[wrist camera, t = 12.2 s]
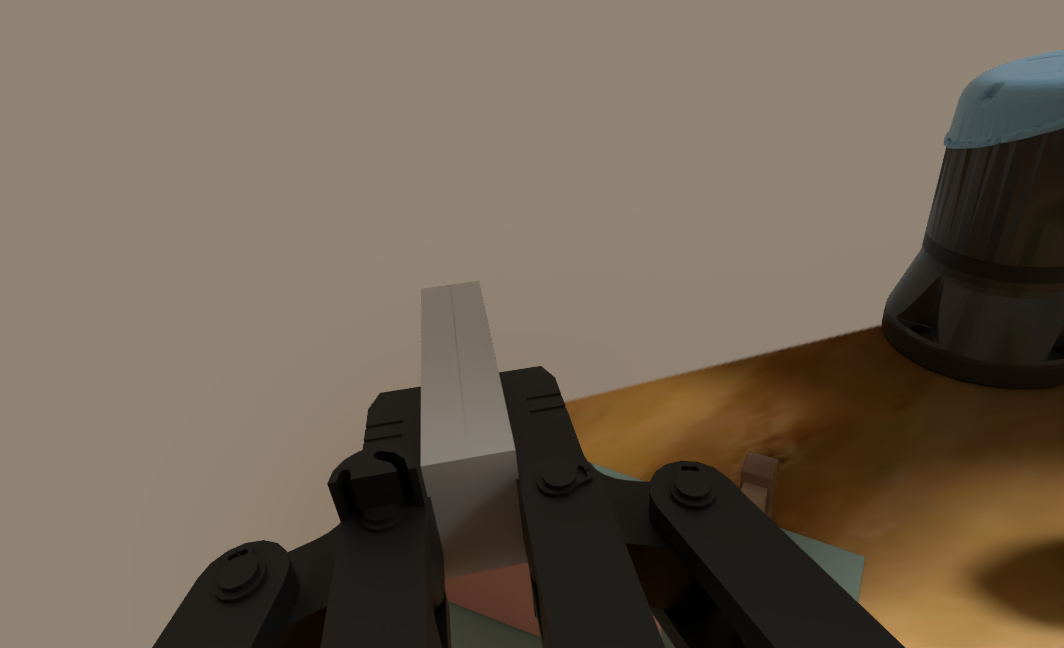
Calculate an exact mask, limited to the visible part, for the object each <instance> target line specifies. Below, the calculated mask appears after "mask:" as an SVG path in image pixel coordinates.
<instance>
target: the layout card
mask: <svg viewBox="0 0 1064 648" xmlns="http://www.w3.org/2000/svg"><path fill="white" fill-rule="evenodd" d="M591 464H592V465H593V466H594V468H595V469H596V470H598V471H599V472H601V473H603V474H605V475H608V476H610V477H613V478H617V479H623V480H631V481H642V480H639V479H637V478H634V477H631V476H628V475H625V474H622V473H619V472H616V471H613V470H610V469H607V468H605V467H602V466H599V465H596V464H593V463H591ZM644 482H645V481H644ZM781 529H782V528H781ZM782 530H783V531H784V532H785V533H786V534H787V535H788V536H789V537H790V538H791V539H792V540H793V541H794V542H795V543H796V544H797V545H798V546H799V547H800V548H801V549H802V550H804V551H805V552H806V553H807V554H808V555H809V556H810V557H811V558H812V559H813V560H814V561H815V562H816V563H817V564H818V565H819V566H820V567H821V568H822V569H823V570H824V571H826V572H827V573H828V574H829V575H830V576H831V577H832V578H833V579H834V580H835V581H836V582H837V583H838V584H839V585H840V586H841V587H842V588H843V589H844V590H845V591H846V592H847V593H849V594H850V595H851V596H852V597H853V598H854V599H855V600H856V601H857V602H858V598H859V591H860V585H861V578H862V572H863V565H864V559H865V557H864V556H861V555H858V554H855V553H852V552H849V551H846V550H843V549H840V548H837V547H835V546H832V545H829V544H826V543H823V542H820V541H817V540H814V539H811V538H808V537H805V536H803V535H800V534H797V533H794V532H791V531H788V530H785V529H782ZM448 604H449V610H450V630H451V648H543V647H542V642H541V637H538V636H536V635H533V634H531V633H528V632H526V631H523V630H520V629H518V628H515V627H513V626H510V625H508V624H505V623H503V622H500V621H497V620H495V619H492V618H490V617H487V616H485V615H482V614H480V613H477V612H474V611H472V610H469V609H467V608H464V607H462V606H459V605H457V604H454V603H451V602H449V601H448ZM661 636H662V641H663V643H664V646H665V648H675V647H674V645H673V644H672V642H671V641H670V639H669V638H668V636H667V635H666V633H665V632H664V630H663V629H662V627H661Z"/></svg>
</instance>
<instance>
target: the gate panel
mask: <svg viewBox="0 0 1064 648" xmlns="http://www.w3.org/2000/svg"><path fill="white" fill-rule="evenodd" d="M444 575H445V591H446V595H447V600H448V601H449V602H451V603H454V604H457V605H459V606H462V607H464V608H467V609H469V610H472V611H474V612H477V613H480V614H482V615H485V616H487V617H490V618H492V619H495V620H497V621H500V622H503V623H505V624H508V625H510V626H513V627H515V628H518V629H520V630H523V631H526V632H528V633H531V634H533V635H536V636H538V637H540V632H539V626H538V621H537V617H535V614H534V605H533V597H532V588H531V579H530V571H529V566H528V562H527V563H522V564H517V565H512V566H507V567H502V568H497V569H492V570H487V571H482V572H477V573H472V574H467V575H462V576H457V577H452V578H446V574H445V569H444ZM653 617H654V615H653ZM654 620H655V622H656V625H657V627H658V630H659V633H660V635H661V626H660V624H659V623H658V621H657V620H656V618H655V617H654ZM661 638H662V636H661Z"/></svg>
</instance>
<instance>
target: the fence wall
mask: <svg viewBox="0 0 1064 648" xmlns="http://www.w3.org/2000/svg"><path fill="white" fill-rule="evenodd" d="M778 460H779V459H775V458H772V457H768V456H765V455H761V454H757V453H754V452H750V451H749V452H748V455H747V458H746V460H745V463H744V465H743V468H742V470H741V485H740V490H741V491H742V492H743V493H744V494H745V495H746V496H747V497H748V498H749V499H750V500H751V501H752V502H753V503H754V504H755V505H756V506H758V507H759V508H760V509H761V510H762V511H763V512H764V513H765V514H766V515H767V516H768V517H769V518H770V519H772V513H773V504H774V495H775V487H776V478H777V469H778Z"/></svg>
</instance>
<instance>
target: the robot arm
mask: <svg viewBox="0 0 1064 648" xmlns="http://www.w3.org/2000/svg"><path fill="white" fill-rule="evenodd" d="M944 145H945V146H946V151H945V155H944V159H943V163H942V168H941V172H940V175H939V179H938V184H937V187H936V191H935V195H934V199H933V203H932V207H931V211H930V215H929V219H928V223H927V227H926V232H925V236H924V240H923V244H922V248H921V250H920V252H919V253H918V255H917V256H916V257H915V259H914V260H913V262H912V263H911V265H910V266H909V268H908V269H907V270H906V272H905V273H904V275H903V276H902V278H901V279H900V281H899V282H898V283H897V285H896V286H895V288H894V289H893V291H892V292H891V294H890V295H889V297H888V299H887V302H886V305H885V310H884V314H883V319H882V328H883V332H884V334H885V336H886V337H887V339H888V340H889V342H890V343H891V344H892V345H893V346H894V347H895V348H896V349H897V350H899V351H900V352H901V353H902V354H904V355H905V356H907V357H908V358H910V359H911V360H913V361H915V362H917V363H919V364H921V365H923V366H925V367H927V368H929V369H931V370H934V371H936V372H939V373H942V374H944V375H947V376H950V377H954V378H957V379H961V380H965V381H969V382H973V383H978V384H983V385H989V386H997V387H1007V388H1041V387H1050V386H1056V385H1060V384H1064V50H1061V51H1055V52H1050V53H1045V54H1040V55H1036V56H1031V57H1027V58H1023V59H1019V60H1016V61H1013V62H1009V63H1006V64H1003V65H1000V66H998V67H995V68H993V69H990V70H988V71H986V72H985V73H983V74H981V75H979V76H978V77H976V78H975V79H974V80H973V81H971V82H970V83H969V84H968V85H967V86H966V88H965V89H964V90H963V92H962V94H961V96H960V98H959V101H958V104H957V108H956V111H955V114H954V117H953V121H952V124H951V127H950V131H949V132H948V133H947V134H946V136H945V138H944ZM327 484H328V487H329V490H330V493H331V496H332V498H333V501H334V504H335V507H336V510H337V512H338V515H339V518H340V521H341V523H340V524H339V525H338V526H336V527H335V528H334V529H333V530H331V531H330V532H329V533H327V534H325V535H323V536H322V537H320V538H318V539H316V540H314V541H312V542H310V543H307V544H305V545H303V546H301V547H298V548H296V549H294V550H292V551H289V552H287V551H286V550H285V549H284V548H283V547H281V546H280V545H279V544H278V543H274V542H270V541H265V540H262V541H256V542H249V543H245V544H243V545H240V546H238V547H236V548H233V549H231V550H229V551H227V552H226V553H224V554H223V555H221V556H220V557H219V558H217V559H216V560H215V561H213V562H212V563H211V564H210V565H209V566H208V567H207V568H206V569H205V571H204V572H203V573H202V574H201V575H200V576H199V577H198V579H197V580H196V582H195V583H194V585H193V587H192V588H191V590H190V591H189V592H188V594H187V596H186V597H185V598H184V600H183V602H182V603H181V605H180V606H179V608H178V609H177V611H176V612H175V614H174V615H173V617H172V618H171V620H170V621H169V623H168V624H167V626H166V627H165V629H164V630H163V632H162V633H161V635H160V637H159V638H158V640H157V641H156V643H155V644H154V646H153V647H152V648H451V630H450V610H449V604H448V600H447V595H446V591H445V575H444V569H445V574H446V578H452V577H457V576H462V575H467V574H472V573H477V572H482V571H487V570H492V569H497V568H502V567H507V566H512V565H517V564H522V563H527V562H528V566H529V571H530V579H531V588H532V597H533V605H534V614H535V617H537V621H538V626H539V632H540V637H541V642H542V647H543V648H665V646H664V643H663V641H662V638H661V635H660V633H659V630H658V627H657V625H656V622H655V620H654V617H655V618H656V620H657V621H658V623H659V624H660V626H661V627H662V629H663V630H664V632H665V633H666V635H667V636H668V638H669V639H670V641H671V642H672V644H673V645H674V647H675V648H905V647H904V646H903V645H902V644H901V643H900V642H899V641H898V640H897V639H896V638H895V637H894V636H892V635H891V634H890V633H889V632H888V631H887V630H886V629H885V628H884V627H883V626H882V625H881V624H880V623H879V622H878V621H877V620H876V619H875V618H874V617H873V616H872V615H871V614H869V613H868V612H867V611H866V610H865V609H864V608H863V607H862V606H861V605H860V604H859V603H858V602H857V601H856V600H855V599H854V598H853V597H852V596H851V595H850V594H849V593H847V592H846V591H845V590H844V589H843V588H842V587H841V586H840V585H839V584H838V583H837V582H836V581H835V580H834V579H833V578H832V577H831V576H830V575H829V574H828V573H827V572H826V571H824V570H823V569H822V568H821V567H820V566H819V565H818V564H817V563H816V562H815V561H814V560H813V559H812V558H811V557H810V556H809V555H808V554H807V553H806V552H805V551H804V550H802V549H801V548H800V547H799V546H798V545H797V544H796V543H795V542H794V541H793V540H792V539H791V538H790V537H789V536H788V535H787V534H786V533H785V532H784V531H783V530H782V529H781V528H779V527H778V526H777V525H776V524H775V523H774V522H773V521H772V520H771V519H770V518H769V517H768V516H767V515H766V514H765V513H764V512H763V511H762V510H761V509H760V508H759V507H758V506H756V505H755V504H754V503H753V502H752V501H751V500H750V499H749V498H748V497H747V496H746V495H745V494H744V493H743V492H742V491H741V490H740V489H739V488H738V487H737V486H736V485H734V484H733V483H732V482H731V481H730V480H729V479H728V478H727V477H726V476H725V475H723V474H722V473H720V472H719V471H718V470H716V469H715V468H713V467H710V466H707V465H705V464H702V463H699V462H689V461H679V462H674V463H670V464H666V465H665V466H663V467H662V468H660V469H659V470H657V471H656V472H655V474H654V475H653V477H652V479H651V480H650V482H644V481H631V480H623V479H617V478H613V477H610V476H608V475H605V474H603V473H601V472H599V471H598V470H596V469H595V468H594V466H593V465H592V464H591V463H590V462H588V461H587V460H586V458H585V456H584V454H583V452H582V449H581V447H580V444H579V441H578V439H577V436H576V433H575V430H574V428H573V425H572V422H571V420H570V417H569V414H568V411H567V409H566V408H565V403H564V401H563V398H562V396H561V393H560V390H559V387H558V384H557V382H556V379H555V377H553V376H552V375H551V374H550V373H549V372H548V371H546V370H545V369H544V368H543V367H542V366H538V367H531V368H525V369H519V370H512V371H506V372H500V373H499V371H498V367H497V362H496V357H495V353H494V348H493V343H492V339H491V334H490V329H489V325H488V320H487V316H486V311H485V306H484V302H483V297H482V293H481V288H480V283H479V281H475V282H468V283H461V284H454V285H447V286H439V287H433V288H424V289H422V291H421V387H415V388H409V389H403V390H397V391H390V392H384V393H380V394H379V395H378V397H377V398H376V400H375V401H374V402H373V404H372V405H371V406H370V408H369V409H368V415H367V423H366V430H365V436H364V444H363V450H362V451H359V452H357V453H355V454H354V455H352V456H350V457H348V458H347V459H345V460H344V461H343V462H342V463H341V464H340V465H339V466H338V467H337V468H336V469H335V470H334V471H333V472H332V474H331V477H330V479H329V481H328V483H327ZM653 615H654V617H653Z"/></svg>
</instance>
